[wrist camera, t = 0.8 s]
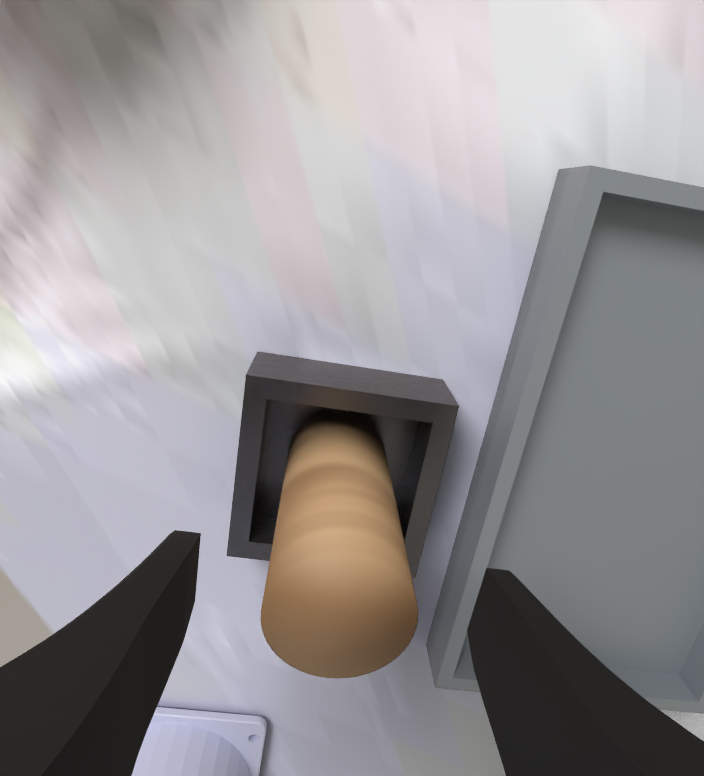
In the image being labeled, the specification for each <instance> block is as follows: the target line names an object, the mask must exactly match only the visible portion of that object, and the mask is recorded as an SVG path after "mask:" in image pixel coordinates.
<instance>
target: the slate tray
mask: <svg viewBox="0 0 704 776" xmlns="http://www.w3.org/2000/svg"><path fill="white" fill-rule="evenodd" d="M486 568H493V569H502V570H509V571H511V572H512V573H513V574H514V575H515V576H516V577H517V578H518V579H519V580H520V581H521V582H522V583H523V584H524V585H525V586H526V587H527V588H528V589H529V591H530V592H531V593H532V594H533V595H534V596H535V597H536V598H537V599H538V600H539V601H540V602H541V603H542V604H543V605H544V606H545V607H546V608H547V609H548V610H549V611H550V613H551V614H552V615H553V616H554V617H555V618H556V619H557V620H558V621H559V622H560V623H561V624H562V625H563V626H564V627H565V628H566V629H567V630H568V631H569V632H570V633H571V634H572V635H573V636H574V637H575V638H576V639H577V640H578V641H579V642H580V643H581V644H582V645H583V646H584V647H586V648H587V649H588V650H589V651H590V652H591V653H592V654H593V655H594V656H595V657H596V658H597V659H599V660H600V661H601V662H602V663H603V664H604V665H605V666H606V667H607V668H608V669H610V670H611V671H612V672H613V673H614V674H615V675H616V676H618V677H619V678H620V679H621V680H622V681H624V682H625V683H626V684H627V685H628V686H630V687H631V688H632V689H633V690H635V691H636V692H637V693H638V694H640V695H641V696H642V697H643V698H644V699H646V700H647V701H648V702H649V703H651V704H652V705H653V706H655V707H656V708H657V709H662V710H672V711H682V712H693V713H703V714H704V188H703V187H698V186H693V185H688V184H683V183H678V182H672V181H667V180H662V179H657V178H652V177H647V176H642V175H636V174H631V173H626V172H621V171H616V170H611V169H606V168H600V167H595V166H583V167H575V168H566V169H559V171H558V175H557V178H556V182H555V185H554V189H553V192H552V196H551V200H550V203H549V207H548V210H547V214H546V217H545V221H544V225H543V228H542V232H541V235H540V239H539V243H538V246H537V250H536V253H535V257H534V260H533V264H532V268H531V271H530V275H529V278H528V282H527V285H526V289H525V293H524V296H523V300H522V303H521V307H520V311H519V314H518V318H517V321H516V325H515V328H514V332H513V336H512V339H511V343H510V346H509V350H508V354H507V357H506V361H505V364H504V368H503V371H502V375H501V379H500V382H499V386H498V389H497V393H496V396H495V400H494V404H493V407H492V411H491V414H490V418H489V422H488V425H487V429H486V432H485V436H484V439H483V443H482V447H481V450H480V454H479V457H478V461H477V465H476V468H475V472H474V475H473V479H472V482H471V486H470V490H469V493H468V497H467V500H466V504H465V507H464V511H463V515H462V518H461V522H460V525H459V529H458V533H457V536H456V540H455V543H454V547H453V550H452V554H451V558H450V561H449V565H448V568H447V572H446V575H445V579H444V583H443V586H442V590H441V593H440V597H439V601H438V604H437V608H436V611H435V615H434V618H433V622H432V626H431V629H430V633H429V636H428V640H427V644H426V646H427V651H428V655H429V660H430V665H431V670H432V674H433V679H434V684H435V688H446V689H456V690H466V691H477V692H480V689H479V686H478V682H477V679H476V675H475V672H474V668H473V662H472V657H471V652H470V646H469V640H468V633H467V628H468V625H469V622H470V619H471V616H472V612H473V609H474V606H475V603H476V599H477V596H478V593H479V590H480V587H481V583H482V580H483V577H484V574H485V571H486Z"/></svg>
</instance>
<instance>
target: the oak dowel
mask: <svg viewBox="0 0 704 776" xmlns="http://www.w3.org/2000/svg"><path fill="white" fill-rule="evenodd" d="M417 622H418V607H417V601H416V597H415V592H414V587H413V582H412V577H411V573H410V568H409V563H408V558H407V553H406V549H405V544H404V539H403V534H402V529H401V525H400V520H399V515H398V510H397V505H396V500H395V496H394V491H393V486H392V481H391V476H390V472H389V467H388V462H387V457H386V452H385V448H384V444H383V441H382V439H381V437H380V435H379V433H378V432H377V430H376V429H375V428H374V427H373V426H372V425H371V424H370V423H368V422H367V421H365V420H364V419H362V418H360V417H358V416H356V415H353V414H349V413H342V412H332V413H325V414H322V415H319V416H316V417H314V418H312V419H310V420H309V421H307V422H306V423H305V424H303V425H302V426H301V427H300V428H299V429H298V431H297V432H296V433H295V435H294V437H293V439H292V441H291V443H290V447H289V452H288V458H287V464H286V469H285V475H284V481H283V487H282V493H281V498H280V504H279V510H278V516H277V522H276V527H275V533H274V539H273V545H272V551H271V556H270V562H269V568H268V574H267V580H266V585H265V591H264V597H263V603H262V609H261V626H262V630H263V634H264V636H265V639H266V641H267V643H268V644H269V646H270V647H271V649H272V650H273V651H274V652H275V653H276V655H277V656H278V657H280V658H281V659H282V660H283V661H284V662H286V663H287V664H289V665H290V666H292V667H294V668H296V669H298V670H300V671H302V672H305V673H307V674H311V675H315V676H319V677H326V678H349V677H356V676H360V675H364V674H368V673H370V672H373V671H376V670H378V669H380V668H382V667H384V666H385V665H387V664H389V663H390V662H392V661H393V660H394V659H395V658H397V657H398V656H399V655H400V654H401V653H402V652H403V651H404V650H405V648H406V647H407V646H408V644H409V643H410V641H411V639H412V637H413V636H414V633H415V630H416V627H417Z"/></svg>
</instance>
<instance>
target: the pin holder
mask: <svg viewBox="0 0 704 776" xmlns="http://www.w3.org/2000/svg"><path fill="white" fill-rule="evenodd" d="M458 408H459V405H458V404H457V402H456V400H455V399H454V397H453V395H452V394H451V392H450V391H449V389H448V387H447V386H446V384H445V382H444V381H443V380H441V379H435V378H428V377H422V376H415V375H408V374H402V373H395V372H389V371H382V370H375V369H369V368H362V367H356V366H349V365H342V364H336V363H329V362H323V361H316V360H309V359H303V358H296V357H290V356H283V355H276V354H270V353H263V352H257V354H256V356H255V358H254V360H253V362H252V364H251V366H250V368H249V370H248V372H247V374H246V381H245V391H244V400H243V409H242V419H241V428H240V437H239V447H238V456H237V465H236V474H235V484H234V493H233V502H232V512H231V521H230V530H229V540H228V549H227V556H232V557H241V558H249V559H258V560H266V561H270V556H271V551H272V545H273V539H274V533H275V527H276V522H277V516H278V510H279V504H280V498H281V493H282V487H283V481H284V475H285V469H286V464H287V458H288V452H289V447H290V443H291V441H292V439H293V437H294V435H295V433H296V432H297V431H298V429H299V428H300V427H301V426H302V425H303V424H305V423H306V422H307V421H309V420H310V419H312V418H314V417H316V416H319V415H322V414H325V413H332V412H342V413H349V414H353V415H356V416H358V417H360V418H362V419H364V420H365V421H367V422H368V423H370V424H371V425H372V426H373V427H374V428H375V429H376V430H377V432H378V433H379V435H380V437H381V439H382V441H383V444H384V448H385V452H386V457H387V462H388V467H389V472H390V476H391V481H392V486H393V491H394V496H395V500H396V505H397V510H398V515H399V520H400V525H401V529H402V534H403V539H404V544H405V549H406V553H407V558H408V563H409V568H410V573H411V577H413V578H415V576H416V572H417V568H418V564H419V560H420V556H421V553H422V549H423V545H424V541H425V537H426V533H427V529H428V525H429V521H430V517H431V514H432V510H433V506H434V502H435V498H436V494H437V490H438V486H439V482H440V478H441V474H442V471H443V467H444V463H445V459H446V455H447V451H448V447H449V443H450V439H451V435H452V432H453V428H454V424H455V420H456V416H457V412H458Z"/></svg>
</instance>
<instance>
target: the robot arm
mask: <svg viewBox="0 0 704 776" xmlns="http://www.w3.org/2000/svg"><path fill="white" fill-rule="evenodd" d="M200 535H201V533H194V532H185V531H177V530H175V531H174V532H172V533H171V534H169V536H168V537H167V538H166V539H165V540H164V541H163V542H162V543H161V544H160V545H159V546H158V547H157V548H156V549H155V550H154V551H153V552H152V553H151V554H150V555H149V556H148V557H147V558H146V559H145V560H144V561H143V562H142V563H141V564H140V565H139V566H137V567H136V568H135V569H134V570H133V571H132V572H131V573H130V574H129V575H128V576H126V577H125V578H124V579H123V580H122V581H121V582H120V583H119V584H118V585H116V586H115V587H114V588H113V589H112V590H111V591H109V592H108V593H107V594H106V595H104V596H103V597H102V598H101V599H100V600H98V601H97V602H96V603H95V604H93V605H92V606H91V607H90V608H89V609H87V610H86V611H85V612H83V613H82V614H81V615H79V616H78V617H77V618H75V619H74V620H73V621H71V622H70V623H69V624H67V625H66V626H64V627H63V628H62V629H60V630H59V631H57V632H56V633H54V634H53V635H51V636H50V637H49V638H47V639H46V640H44V641H43V642H41V643H40V644H38V645H36V646H35V647H33V648H31V649H30V650H28V651H27V652H25V653H23V654H22V655H20V656H18V657H17V658H15V659H14V660H12V661H10V662H9V663H7V664H5V665H3V666H2V667H0V776H259V773H260V766H261V760H262V754H263V748H264V741H265V735H266V728H267V722H266V720H265V719H264V718H262V717H260V716H253V715H242V714H231V713H220V712H208V711H197V710H186V709H175V708H164V707H157V705H158V703H159V700H160V698H161V695H162V693H163V690H164V688H165V686H166V683H167V681H168V678H169V676H170V673H171V671H172V668H173V666H174V663H175V661H176V658H177V656H178V653H179V651H180V648H181V646H182V643H183V641H184V637H185V634H186V630H187V627H188V624H189V620H190V616H191V613H192V609H193V606H194V602H195V593H196V582H197V570H198V558H199V546H200ZM467 633H468V640H469V646H470V652H471V657H472V662H473V668H474V672H475V675H476V679H477V682H478V686H479V689H480V692H481V695H482V699H483V702H484V705H485V709H486V712H487V715H488V718H489V721H490V725H491V728H492V731H493V734H494V737H495V741H496V744H497V747H498V750H499V753H500V757H501V760H502V763H503V766H504V770H505V774H506V776H704V741H702V740H701V739H699V738H698V737H696V736H695V735H693V734H692V733H691V732H689V731H688V730H686V729H685V728H684V727H682V726H681V725H679V724H678V723H677V722H675V721H674V720H672V719H671V718H670V717H668V716H667V715H665V714H664V713H663V712H661V711H660V710H659V709H657V708H656V707H655V706H653V705H652V704H651V703H649V702H648V701H647V700H646V699H644V698H643V697H642V696H641V695H640V694H638V693H637V692H636V691H635V690H633V689H632V688H631V687H630V686H628V685H627V684H626V683H625V682H624V681H622V680H621V679H620V678H619V677H618V676H616V675H615V674H614V673H613V672H612V671H611V670H610V669H608V668H607V667H606V666H605V665H604V664H603V663H602V662H601V661H600V660H599V659H597V658H596V657H595V656H594V655H593V654H592V653H591V652H590V651H589V650H588V649H587V648H586V647H584V646H583V645H582V644H581V643H580V642H579V641H578V640H577V639H576V638H575V637H574V636H573V635H572V634H571V633H570V632H569V631H568V630H567V629H566V628H565V627H564V626H563V625H562V624H561V623H560V622H559V621H558V620H557V619H556V618H555V617H554V616H553V615H552V614H551V613H550V611H549V610H548V609H547V608H546V607H545V606H544V605H543V604H542V603H541V602H540V601H539V600H538V599H537V598H536V597H535V596H534V595H533V594H532V593H531V592H530V591H529V589H528V588H527V587H526V586H525V585H524V584H523V583H522V582H521V581H520V580H519V579H518V578H517V577H516V576H515V575H514V574H513V573H512V572H511V571H509V570H502V569H493V568H486V571H485V574H484V577H483V580H482V583H481V587H480V590H479V593H478V596H477V599H476V603H475V606H474V609H473V612H472V616H471V619H470V622H469V625H468V628H467Z"/></svg>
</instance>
